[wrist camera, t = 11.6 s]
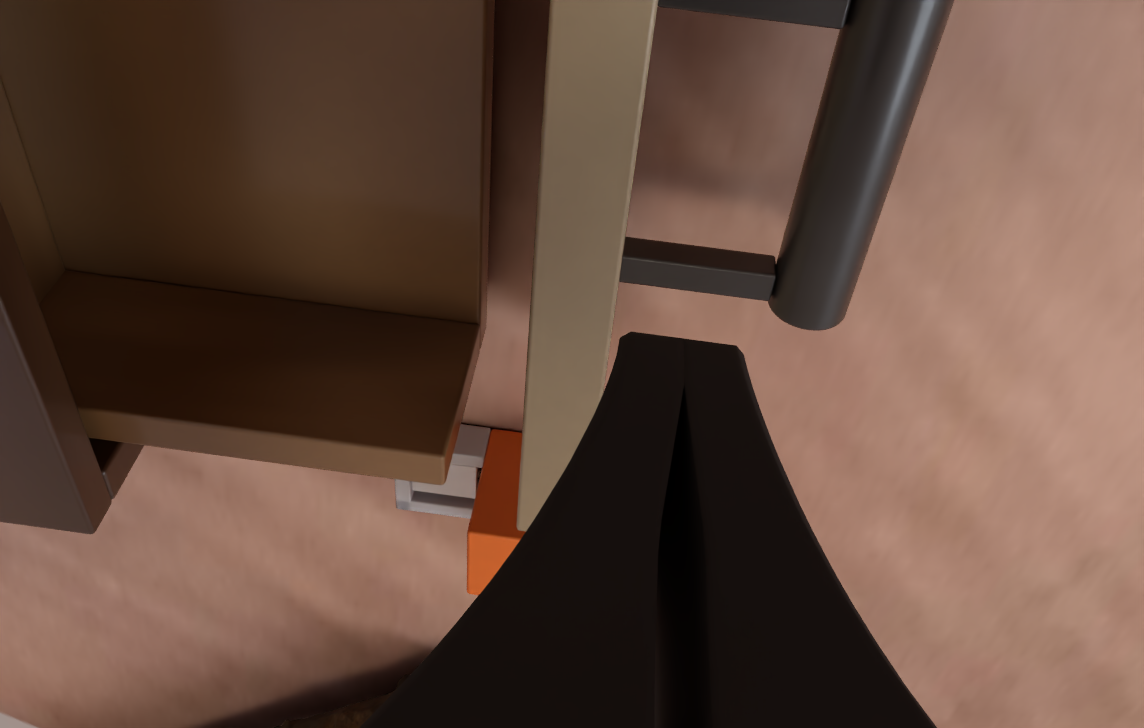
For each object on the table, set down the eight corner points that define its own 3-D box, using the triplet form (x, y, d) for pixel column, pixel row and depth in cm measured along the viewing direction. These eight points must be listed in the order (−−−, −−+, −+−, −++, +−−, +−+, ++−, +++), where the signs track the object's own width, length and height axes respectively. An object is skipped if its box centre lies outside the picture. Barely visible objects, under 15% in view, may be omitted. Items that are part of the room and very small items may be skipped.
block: (654, 449, 24) (647, 557, 22) (642, 511, 26) (635, 617, 24) (401, 415, 25) (368, 519, 22) (405, 479, 26) (374, 581, 24)
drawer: (1026, -316, 13) (1140, -216, 9) (799, 383, 21) (813, 572, 18) (-176, -451, 13) (-497, -404, 10) (73, 287, 22) (-52, 454, 18)
